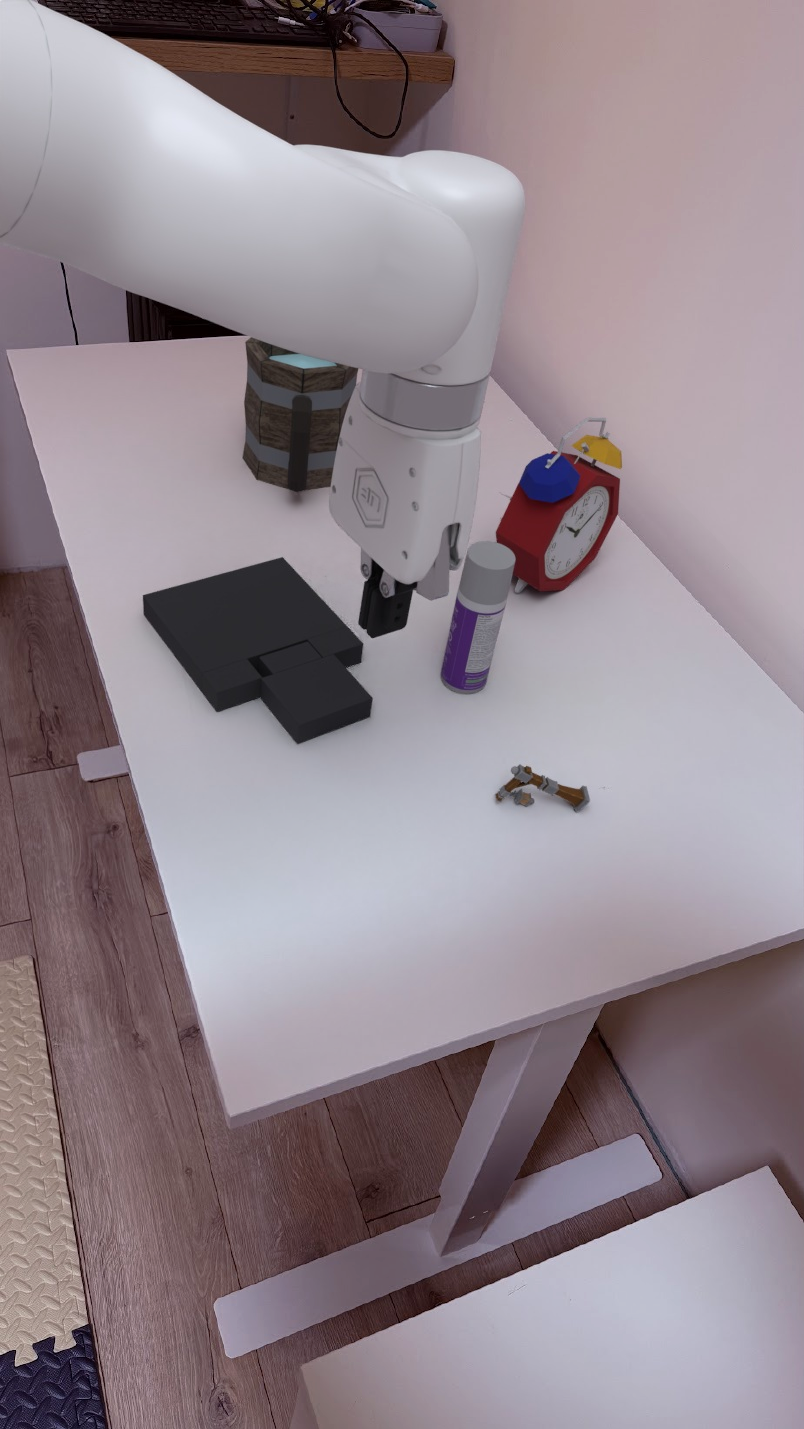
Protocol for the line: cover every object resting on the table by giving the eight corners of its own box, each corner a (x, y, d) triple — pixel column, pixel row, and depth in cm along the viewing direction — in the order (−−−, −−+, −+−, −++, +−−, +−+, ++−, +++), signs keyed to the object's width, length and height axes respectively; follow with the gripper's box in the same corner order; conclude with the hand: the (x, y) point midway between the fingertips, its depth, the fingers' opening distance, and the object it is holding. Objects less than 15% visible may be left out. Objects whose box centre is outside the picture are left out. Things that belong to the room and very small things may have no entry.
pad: (297, 744, 92) (298, 725, 90) (246, 680, 97) (246, 660, 96) (370, 717, 96) (373, 697, 94) (317, 656, 101) (319, 637, 100)
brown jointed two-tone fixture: (486, 786, 90) (515, 755, 87) (557, 813, 93) (588, 784, 91) (488, 801, 89) (518, 770, 86) (560, 828, 92) (591, 799, 89)
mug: (245, 431, 132) (248, 317, 121) (348, 440, 133) (360, 329, 123) (236, 514, 118) (238, 393, 107) (352, 523, 119) (365, 405, 109)
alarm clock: (525, 615, 111) (569, 451, 97) (466, 577, 115) (500, 413, 101) (602, 568, 119) (652, 411, 106) (545, 534, 123) (587, 378, 110)
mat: (216, 712, 94) (216, 692, 92) (143, 614, 102) (142, 594, 101) (361, 662, 101) (363, 643, 100) (281, 575, 110) (282, 556, 108)
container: (432, 667, 102) (457, 544, 92) (472, 659, 104) (501, 537, 94) (453, 698, 99) (481, 573, 89) (494, 688, 101) (526, 565, 91)
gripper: (305, 342, 63) (284, 583, 75) (448, 457, 55) (398, 706, 67) (402, 329, 67) (367, 560, 79) (549, 435, 59) (485, 674, 71)
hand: (381, 626), depth 73 cm, fingers closed
